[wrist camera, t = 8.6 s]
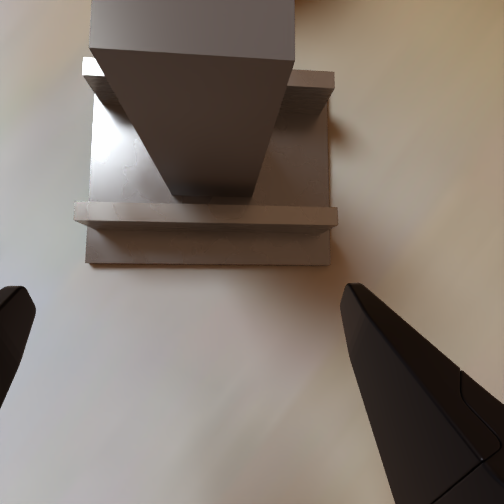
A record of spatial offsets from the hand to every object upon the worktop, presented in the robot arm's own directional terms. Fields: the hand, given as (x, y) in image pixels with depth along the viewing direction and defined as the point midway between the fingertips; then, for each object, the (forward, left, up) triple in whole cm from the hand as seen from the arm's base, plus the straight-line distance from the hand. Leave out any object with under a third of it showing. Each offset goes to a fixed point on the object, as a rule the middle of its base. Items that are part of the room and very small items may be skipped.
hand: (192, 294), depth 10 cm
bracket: (+8, -2, -11) cm, 14 cm away
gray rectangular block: (+8, -2, -11) cm, 14 cm away
